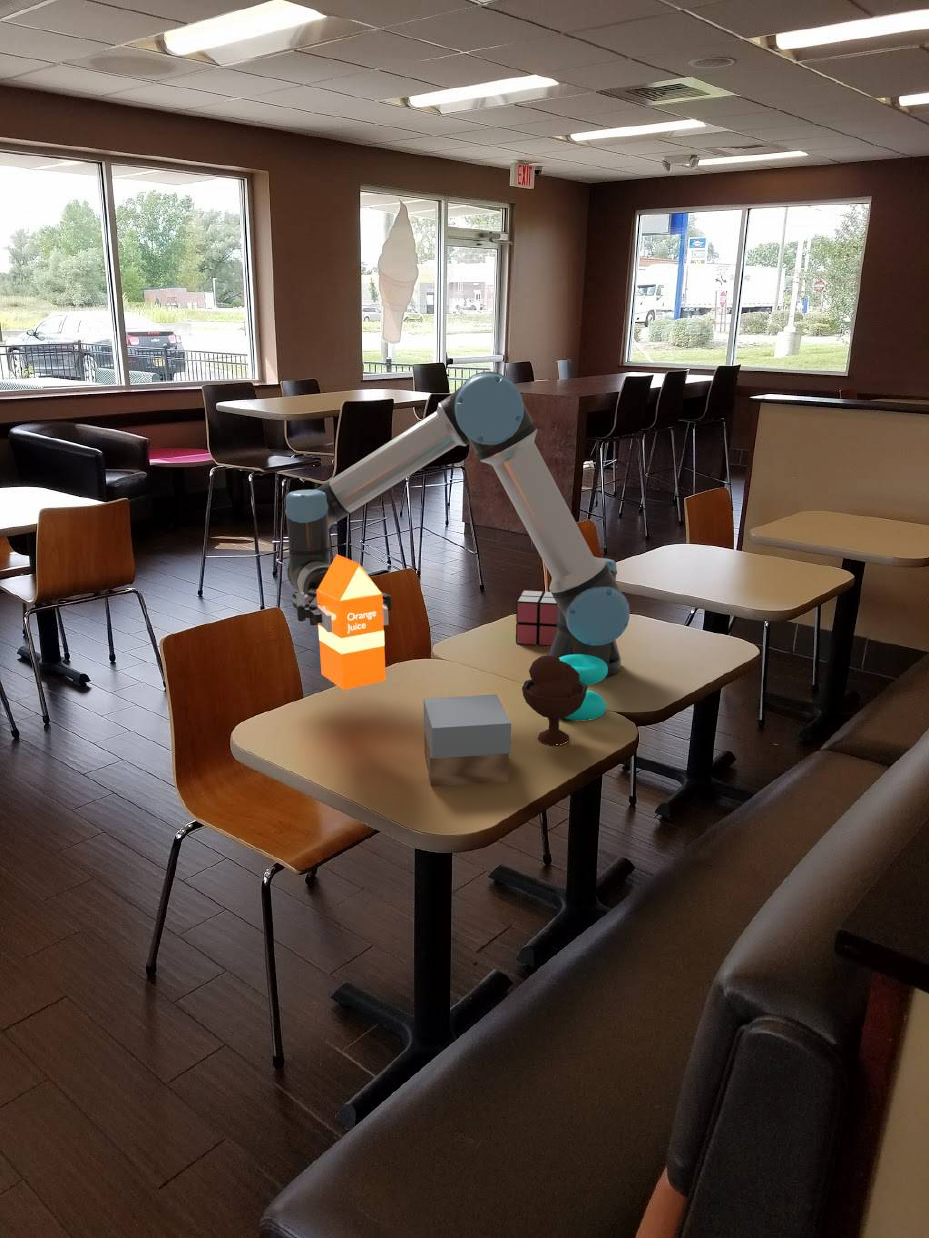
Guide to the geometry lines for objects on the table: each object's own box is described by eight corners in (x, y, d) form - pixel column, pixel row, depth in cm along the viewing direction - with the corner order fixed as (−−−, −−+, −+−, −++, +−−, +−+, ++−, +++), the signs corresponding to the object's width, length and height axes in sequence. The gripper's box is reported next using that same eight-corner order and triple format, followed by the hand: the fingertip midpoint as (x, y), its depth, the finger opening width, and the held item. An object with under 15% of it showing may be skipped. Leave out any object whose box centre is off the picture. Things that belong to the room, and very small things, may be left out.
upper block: (496, 722, 153) (496, 694, 152) (510, 753, 142) (511, 723, 141) (423, 727, 152) (423, 698, 150) (432, 758, 140) (432, 728, 139)
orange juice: (343, 690, 147) (336, 567, 142) (320, 674, 155) (313, 556, 149) (387, 680, 151) (382, 560, 146) (363, 665, 159) (357, 550, 153)
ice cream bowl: (569, 757, 151) (572, 670, 147) (509, 742, 157) (510, 658, 153) (596, 735, 160) (599, 652, 156) (538, 721, 166) (540, 641, 161)
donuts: (540, 658, 168) (582, 648, 173) (539, 710, 171) (580, 698, 176) (578, 674, 160) (620, 663, 166) (576, 728, 163) (617, 715, 169)
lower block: (496, 750, 155) (496, 723, 153) (508, 783, 143) (508, 753, 142) (424, 754, 153) (424, 726, 152) (430, 788, 142) (430, 758, 140)
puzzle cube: (560, 647, 206) (561, 603, 203) (515, 644, 208) (516, 601, 205) (564, 634, 216) (566, 592, 213) (521, 631, 217) (522, 590, 215)
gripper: (381, 600, 171) (422, 634, 150) (265, 614, 163) (292, 652, 143) (379, 560, 168) (421, 589, 148) (261, 572, 161) (289, 605, 141)
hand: (358, 620), depth 146 cm, fingers closed on orange juice, 8 cm apart
